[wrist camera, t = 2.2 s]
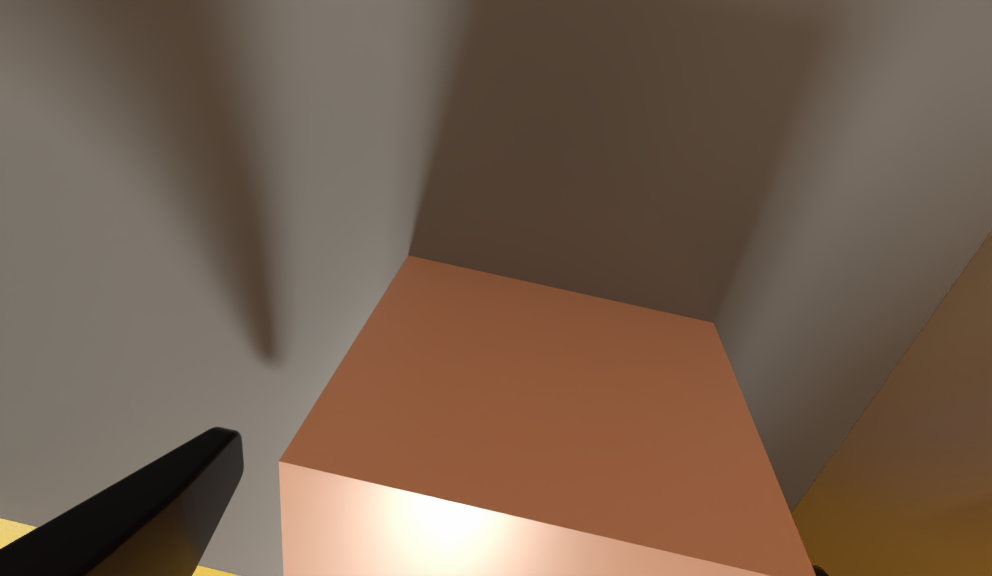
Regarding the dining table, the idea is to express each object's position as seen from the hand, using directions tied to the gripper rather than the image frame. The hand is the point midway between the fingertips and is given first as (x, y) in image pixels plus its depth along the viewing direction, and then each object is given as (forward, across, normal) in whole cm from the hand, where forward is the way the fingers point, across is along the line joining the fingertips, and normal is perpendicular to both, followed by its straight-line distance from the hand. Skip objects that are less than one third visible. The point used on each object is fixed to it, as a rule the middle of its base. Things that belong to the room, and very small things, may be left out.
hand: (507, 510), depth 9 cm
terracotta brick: (+1, 0, 0) cm, 1 cm away
